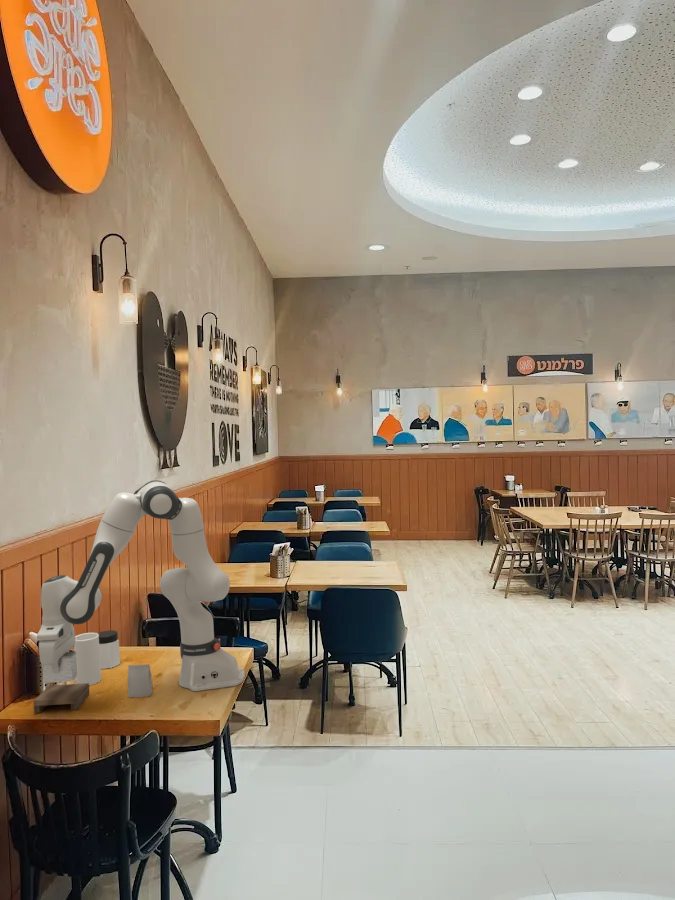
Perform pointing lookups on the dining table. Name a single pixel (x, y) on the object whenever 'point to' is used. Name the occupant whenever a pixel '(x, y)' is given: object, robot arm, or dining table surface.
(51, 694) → the walnut shelf
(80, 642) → the cup
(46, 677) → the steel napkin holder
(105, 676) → the dining table surface
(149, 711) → the dining table surface
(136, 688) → the grey tapered block
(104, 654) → the jar
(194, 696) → the dining table surface
